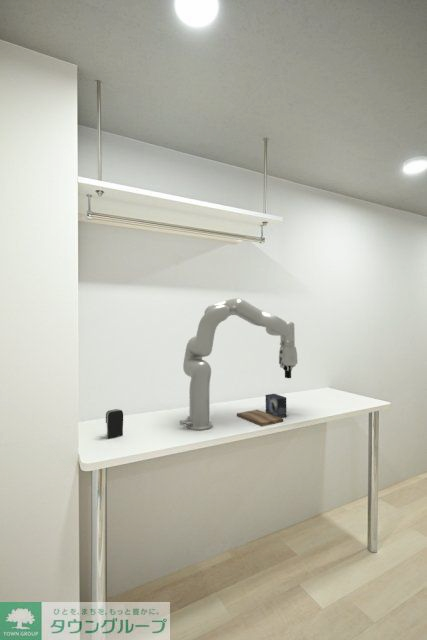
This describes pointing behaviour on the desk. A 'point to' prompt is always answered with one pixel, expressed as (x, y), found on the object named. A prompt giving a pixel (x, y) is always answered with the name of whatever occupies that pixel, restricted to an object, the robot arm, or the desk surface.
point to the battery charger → (114, 423)
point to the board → (260, 417)
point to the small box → (276, 405)
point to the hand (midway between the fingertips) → (288, 377)
